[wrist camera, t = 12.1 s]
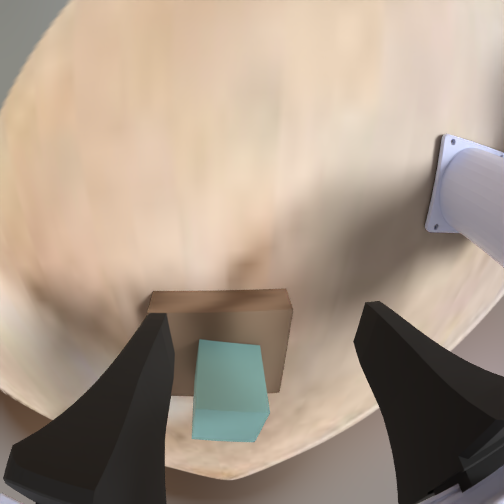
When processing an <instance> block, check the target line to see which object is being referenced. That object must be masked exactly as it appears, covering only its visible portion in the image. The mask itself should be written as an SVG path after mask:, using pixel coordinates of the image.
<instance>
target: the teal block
mask: <svg viewBox="0 0 504 504" xmlns="http://www.w3.org/2000/svg"><path fill="white" fill-rule="evenodd" d="M269 414H270V409H269V403H268V396H267V389H266V382H265V376H264V369H263V362H262V355H261V348H260V345H251V344H239V343H229V342H219V341H210V340H201V339H199V346H198V354H197V362H196V370H195V381H194V399H193V421H192V439H200V440H213V441H231V442H255V440H256V439H257V437H258V435H259V433H260V431H261V429H262V427H263V425H264V423H265V421H266V419H267V417H268V416H269Z"/></svg>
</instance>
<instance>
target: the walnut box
mask: <svg viewBox="0 0 504 504" xmlns="http://www.w3.org/2000/svg"><path fill="white" fill-rule="evenodd" d="M149 313H167V318H168V323H169V328H170V333H171V337H172V342H173V347H174V351H175V363H174V380H173V386H172V392H171V396H194V381H195V370H196V362H197V354H198V346H199V339H201V340H210V341H219V342H229V343H239V344H251V345H260V348H261V355H262V362H263V369H264V376H265V382H266V389H267V393H277V392H279V391H280V386H281V380H282V375H283V369H284V363H285V357H286V351H287V345H288V339H289V332H290V326H291V319H292V313H293V308H292V305H291V302H290V299H289V296H288V293H287V290H286V289H263V290H226V291H153V294H152V297H151V301H150V304H149V308H148V312H147V314H149Z"/></svg>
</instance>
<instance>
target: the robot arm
mask: <svg viewBox="0 0 504 504" xmlns="http://www.w3.org/2000/svg"><path fill="white" fill-rule="evenodd" d="M451 140H452V144H451ZM435 225H436V226H435ZM434 226H435V227H434ZM425 229H426V230H427V231H428V232H441V233H461V234H462V235H464V236H465V237H466V238H468V239H469V240H470V241H472V242H473V243H474V244H476V245H477V246H478V247H479V248H481V249H482V250H483V251H484V252H486V253H487V254H488V255H489V256H491V257H492V258H493V259H494V260H495V261H497V262H498V263H499V264H500V265H501V266H503V267H504V153H503V152H500V151H498V150H495V149H492V148H490V147H487V146H484V145H481V144H478V143H475V142H472V141H469V140H466V139H463V138H460V137H456V136H453V135H450V134H444V135H443V136H442V140H441V147H440V154H439V160H438V167H437V172H436V178H435V183H434V188H433V193H432V198H431V202H430V207H429V211H428V215H427V220H426V224H425ZM353 342H354V345H355V349H356V352H357V356H358V359H359V362H360V365H361V367H362V369H363V372H364V374H365V376H366V378H367V381H368V383H369V385H370V387H371V389H372V392H373V394H374V396H375V398H376V401H377V403H378V405H379V407H380V410H381V413H382V415H383V418H384V422H385V425H386V429H387V432H388V436H389V440H390V445H391V449H392V453H393V459H394V465H395V471H396V479H397V490H398V503H399V504H418V503H419V504H504V377H503V376H500V375H497V374H494V373H492V372H489V371H487V370H484V369H482V368H480V367H478V366H476V365H474V364H471V363H469V362H468V361H465V360H464V359H462V358H460V357H458V356H457V355H455V354H453V353H452V352H450V351H448V350H447V349H445V348H443V347H442V346H440V345H439V344H438V343H436V342H435V341H433V340H432V339H430V338H429V337H427V336H426V335H425V334H423V333H422V332H421V331H419V330H418V329H416V328H415V327H414V326H412V325H411V324H410V323H409V322H407V321H406V320H405V319H403V318H402V317H401V316H399V315H398V314H397V313H395V312H394V311H393V310H391V309H390V308H389V307H387V306H386V305H384V304H383V303H381V302H380V301H375V302H365V306H364V309H363V312H362V316H361V319H360V322H359V326H358V329H357V332H356V335H355V338H354V341H353ZM174 363H175V351H174V347H173V342H172V337H171V333H170V328H169V323H168V318H167V313H149V314H148V315H147V317H146V318H145V319H144V321H143V322H142V324H141V325H140V327H139V328H138V330H137V331H136V332H135V334H134V335H133V337H132V338H131V339H130V341H129V342H128V343H127V345H126V346H125V347H124V349H123V350H122V351H121V353H120V354H119V355H118V357H117V358H116V359H115V360H114V362H113V363H112V364H111V365H110V366H109V368H108V369H107V370H106V371H105V372H104V374H103V375H102V376H101V377H100V378H99V379H98V380H97V381H96V382H95V384H94V385H93V386H92V387H91V388H90V389H89V390H88V391H87V392H86V393H85V394H84V395H83V396H82V397H80V398H79V399H78V400H77V401H76V402H75V403H74V404H73V405H72V406H70V407H69V408H68V409H67V410H66V411H65V412H63V413H62V414H61V415H60V416H58V417H57V418H56V419H54V420H53V421H52V422H50V423H49V424H47V425H46V426H45V427H43V428H42V429H40V430H39V431H37V432H35V433H34V434H32V435H30V436H29V437H27V438H25V439H24V440H22V441H20V442H18V443H16V444H14V445H13V446H12V449H11V452H10V456H9V459H8V462H7V466H6V469H5V474H4V477H3V479H4V481H5V483H6V484H7V485H9V486H10V487H11V488H13V489H14V490H16V491H18V492H19V493H21V494H23V495H24V496H26V497H27V498H29V499H31V500H33V501H34V502H36V504H166V490H165V433H166V425H167V418H168V411H169V405H170V399H171V392H172V386H173V380H174ZM434 495H435V496H434ZM432 496H433V497H432ZM430 497H431V498H430ZM428 498H429V499H428ZM426 499H427V500H426ZM424 500H425V501H424ZM422 501H423V502H422ZM420 502H421V503H420ZM0 504H24V503H22V502H19V501H17V500H15V499H13V498H11V497H9V496H7V495H5V494H3V493H1V494H0Z"/></svg>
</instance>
